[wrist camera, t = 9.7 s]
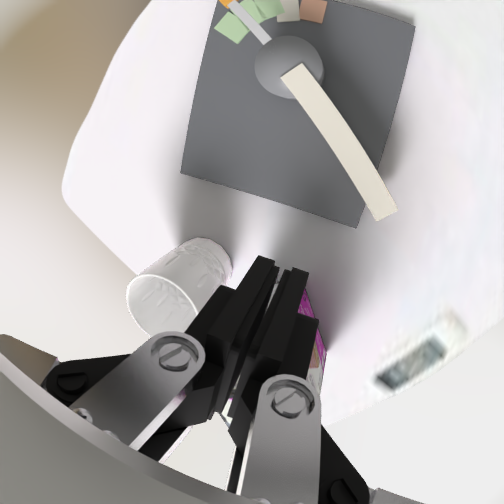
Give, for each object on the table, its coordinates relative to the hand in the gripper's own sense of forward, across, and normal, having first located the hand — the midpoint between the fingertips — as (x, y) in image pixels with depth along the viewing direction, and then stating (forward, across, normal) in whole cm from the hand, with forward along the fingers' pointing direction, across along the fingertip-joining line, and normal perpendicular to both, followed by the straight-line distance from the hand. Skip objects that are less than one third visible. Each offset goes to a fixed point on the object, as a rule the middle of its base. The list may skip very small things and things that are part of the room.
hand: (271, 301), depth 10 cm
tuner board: (+21, +5, -7) cm, 22 cm away
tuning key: (+19, +3, -7) cm, 21 cm away
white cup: (+21, +10, +13) cm, 27 cm away
